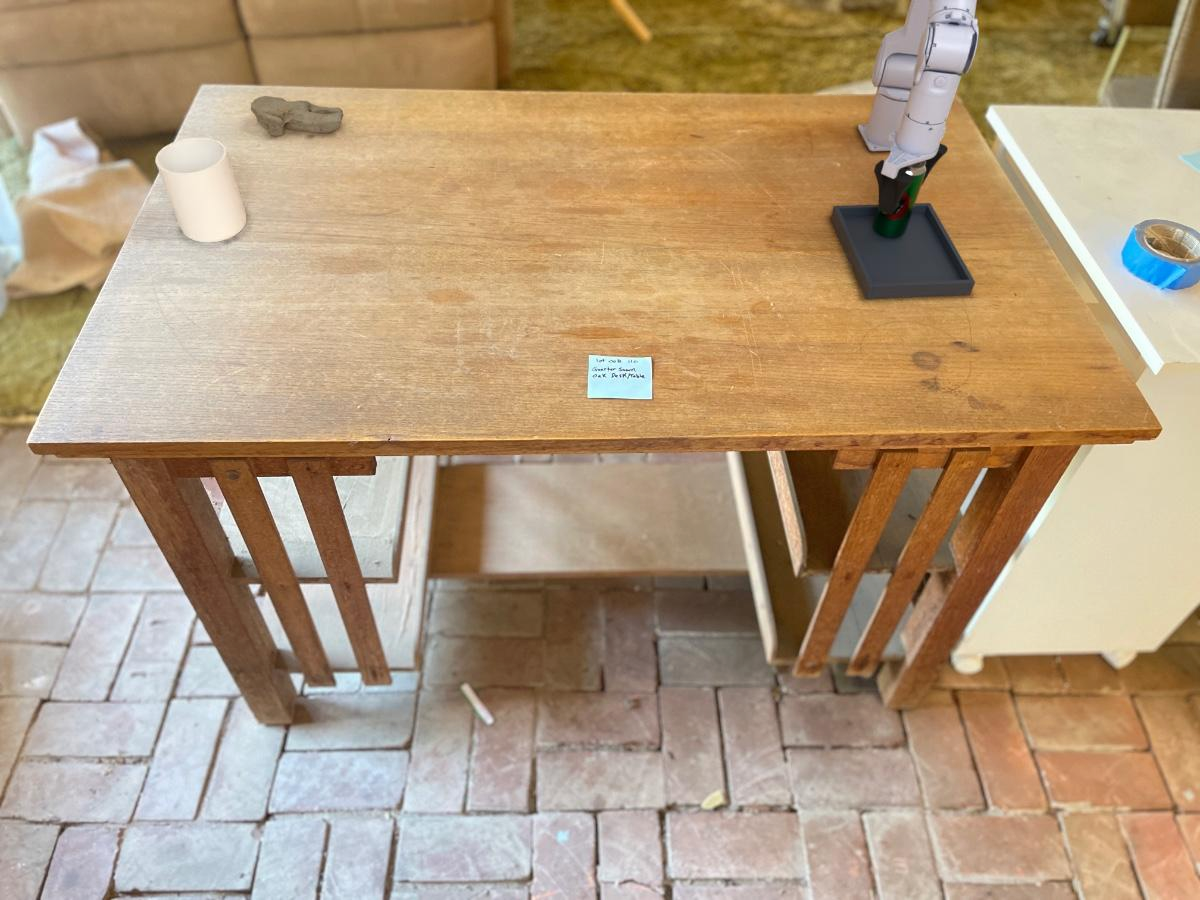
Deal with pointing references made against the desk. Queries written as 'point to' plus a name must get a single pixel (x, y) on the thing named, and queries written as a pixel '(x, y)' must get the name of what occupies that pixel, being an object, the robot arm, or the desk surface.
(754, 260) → the desk surface
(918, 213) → the dark grey tray
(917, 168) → the soda can
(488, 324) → the desk surface
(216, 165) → the mug
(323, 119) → the sculpture
